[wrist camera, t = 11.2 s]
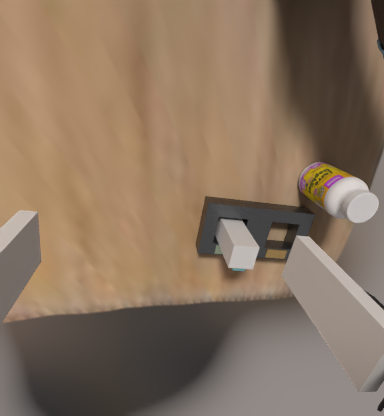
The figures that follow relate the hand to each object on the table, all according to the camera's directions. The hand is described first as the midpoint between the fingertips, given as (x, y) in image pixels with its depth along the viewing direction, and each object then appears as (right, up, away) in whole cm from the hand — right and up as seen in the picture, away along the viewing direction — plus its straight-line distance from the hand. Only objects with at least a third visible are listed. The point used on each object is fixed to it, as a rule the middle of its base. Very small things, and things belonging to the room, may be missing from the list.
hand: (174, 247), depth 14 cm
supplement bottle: (+23, +7, +35) cm, 43 cm away
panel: (+12, -1, +38) cm, 40 cm away
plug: (+7, -1, +37) cm, 37 cm away
